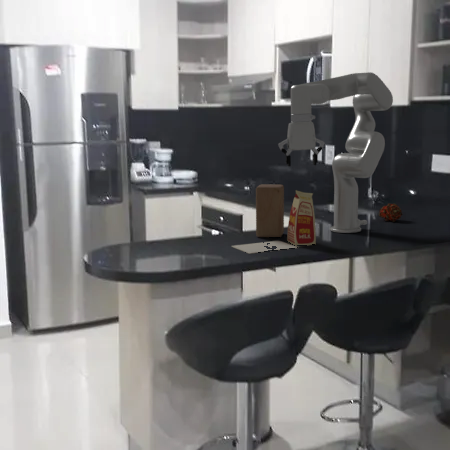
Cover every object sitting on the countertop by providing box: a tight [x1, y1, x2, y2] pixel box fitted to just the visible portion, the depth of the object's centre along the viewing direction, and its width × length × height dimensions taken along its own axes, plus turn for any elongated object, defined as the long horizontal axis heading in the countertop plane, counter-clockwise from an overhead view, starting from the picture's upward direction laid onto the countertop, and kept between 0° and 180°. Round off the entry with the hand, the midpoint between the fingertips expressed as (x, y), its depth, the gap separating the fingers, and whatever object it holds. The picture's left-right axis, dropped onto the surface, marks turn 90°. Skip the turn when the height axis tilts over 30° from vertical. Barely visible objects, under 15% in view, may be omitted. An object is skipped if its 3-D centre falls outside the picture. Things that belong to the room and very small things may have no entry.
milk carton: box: [286, 189, 317, 247], centre depth 239 cm, size 9×9×20 cm
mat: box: [231, 240, 298, 255], centre depth 234 cm, size 20×14×1 cm
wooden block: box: [255, 183, 285, 238], centre depth 255 cm, size 10×10×20 cm
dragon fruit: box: [378, 203, 404, 222], centre depth 286 cm, size 8×8×12 cm
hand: (301, 165), depth 240 cm, fingers open, 9 cm apart
